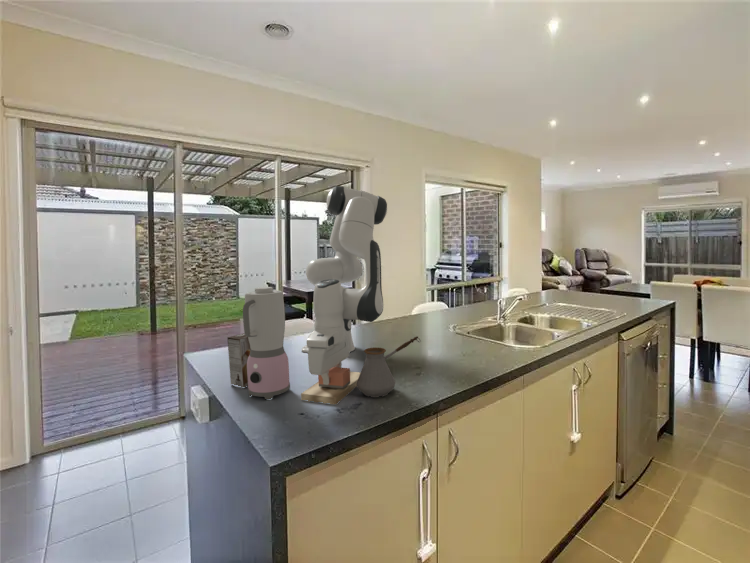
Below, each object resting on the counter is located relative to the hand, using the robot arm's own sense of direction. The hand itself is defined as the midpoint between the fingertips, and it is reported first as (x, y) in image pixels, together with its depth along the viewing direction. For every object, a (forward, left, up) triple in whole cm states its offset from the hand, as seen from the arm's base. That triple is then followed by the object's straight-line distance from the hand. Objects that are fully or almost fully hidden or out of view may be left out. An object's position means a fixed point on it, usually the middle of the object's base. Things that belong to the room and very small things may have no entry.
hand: (331, 380), depth 118 cm
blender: (-18, -7, -4) cm, 20 cm away
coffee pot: (+16, +7, -4) cm, 18 cm away
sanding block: (+1, 0, -1) cm, 2 cm away
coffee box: (-30, 0, -4) cm, 31 cm away
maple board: (0, +3, -4) cm, 5 cm away
